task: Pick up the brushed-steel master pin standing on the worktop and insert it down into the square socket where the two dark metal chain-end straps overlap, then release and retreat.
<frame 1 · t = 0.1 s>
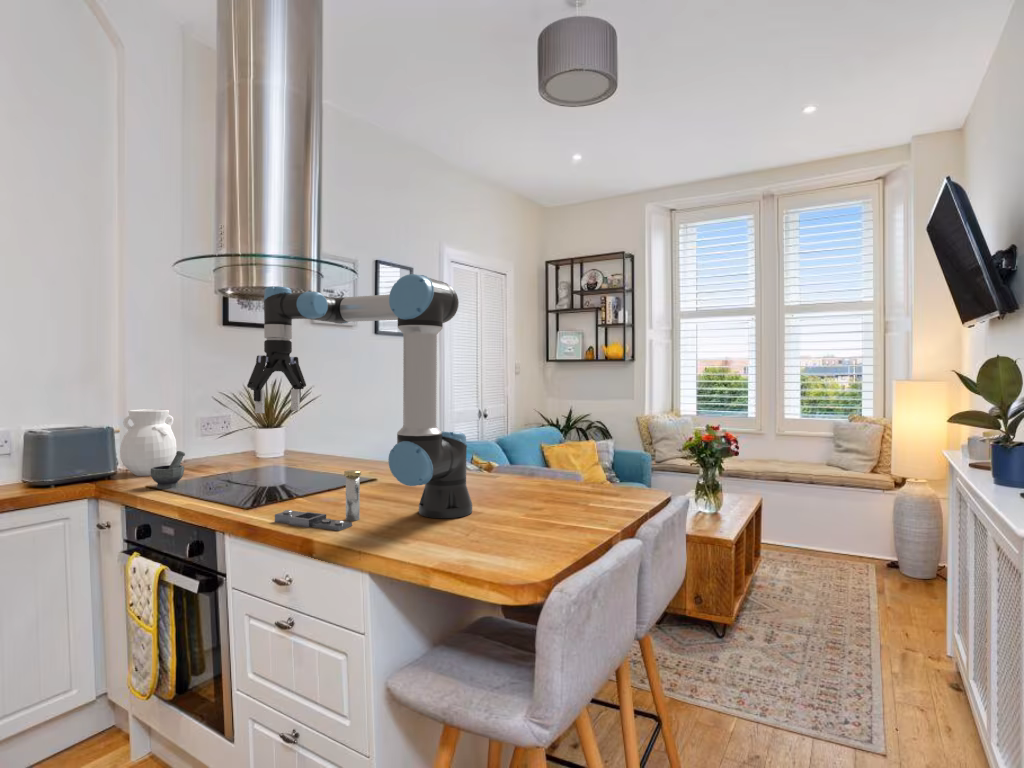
hand: (278, 411, 167), 28 cm above the countertop, fingers open, 13 cm apart
mortar and pestle: (169, 487, 195), on the countertop
master pin: (352, 519, 152), on the countertop
chain ends: (308, 523, 148), on the countertop
white handled vase: (149, 474, 220), on the countertop
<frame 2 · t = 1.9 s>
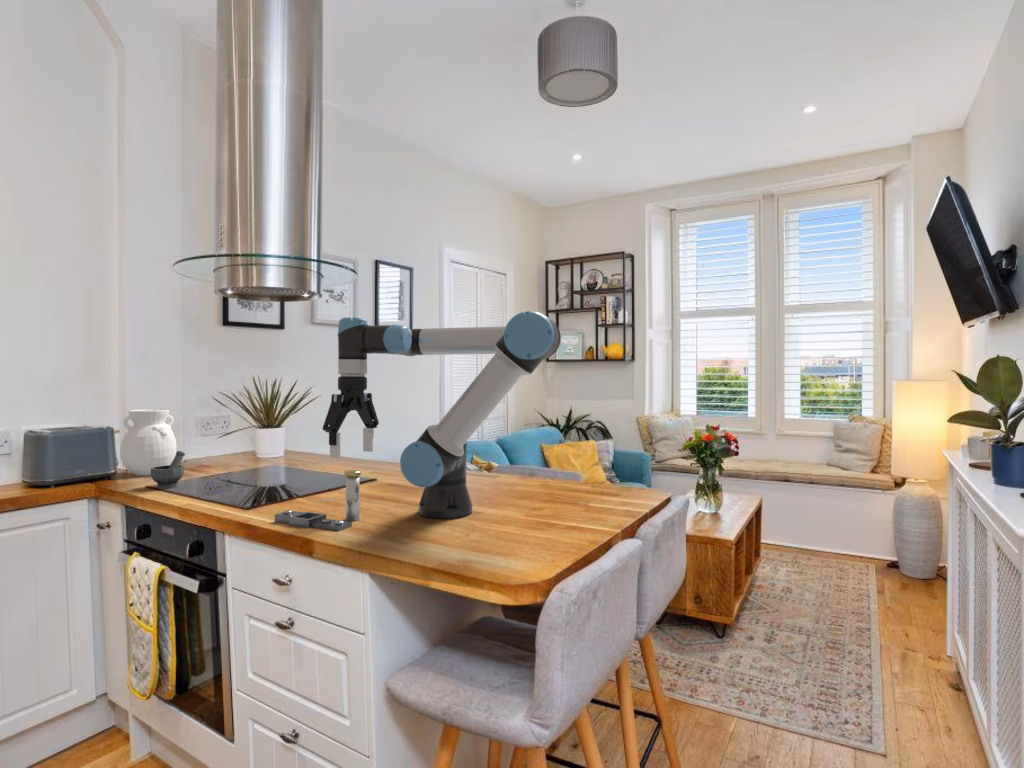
hand: (352, 454, 152), 17 cm above the countertop, fingers open, 13 cm apart
nothing on the countertop moved.
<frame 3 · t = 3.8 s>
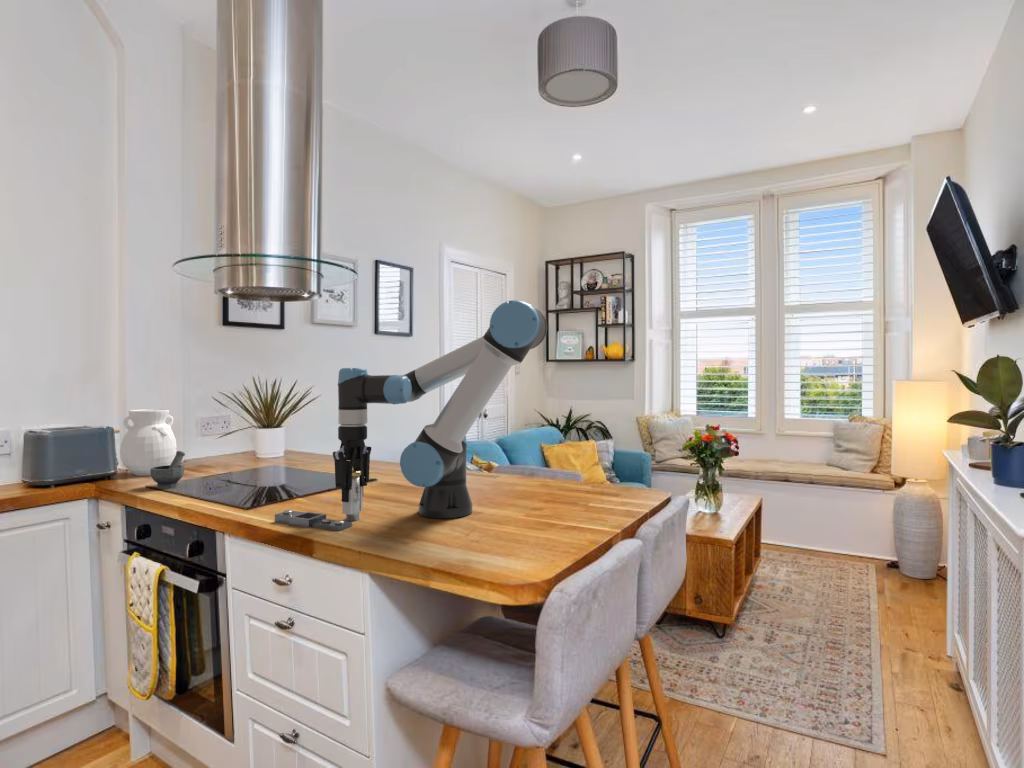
hand: (352, 511, 152), 2 cm above the countertop, fingers closed on master pin, 3 cm apart
master pin: (352, 519, 152), on the countertop, touching gripper
everything else where it was.
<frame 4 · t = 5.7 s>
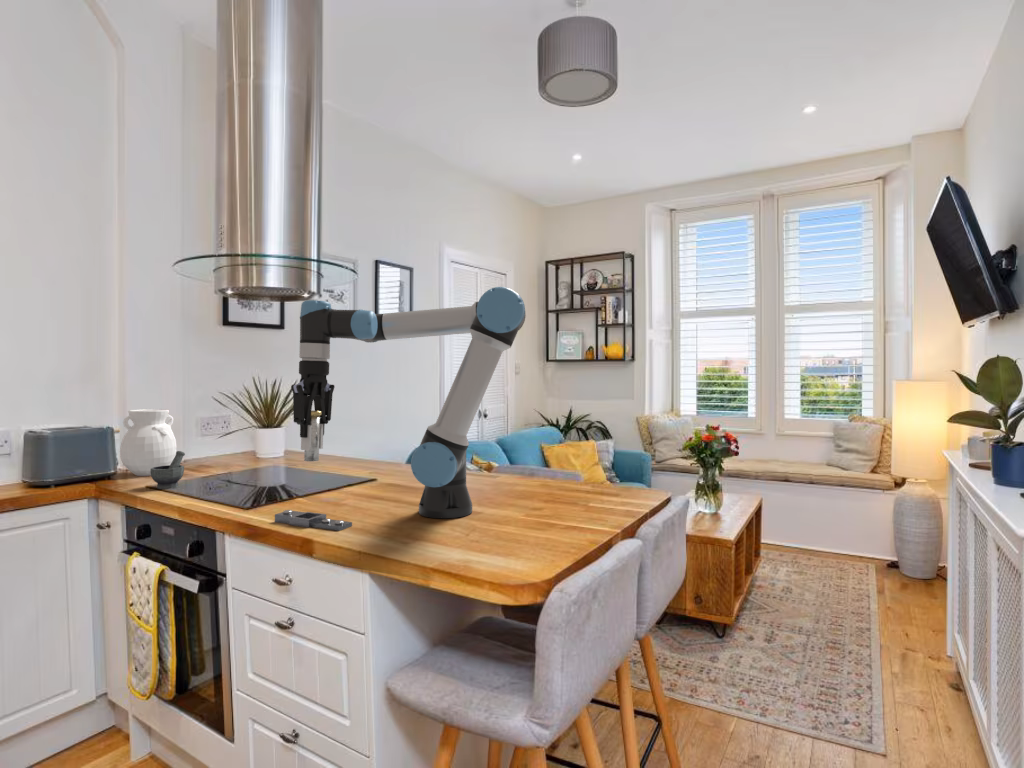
hand: (311, 448, 148), 19 cm above the countertop, fingers closed on master pin, 3 cm apart
master pin: (311, 460, 148), point 16 cm above the countertop, touching gripper
everything else where it was.
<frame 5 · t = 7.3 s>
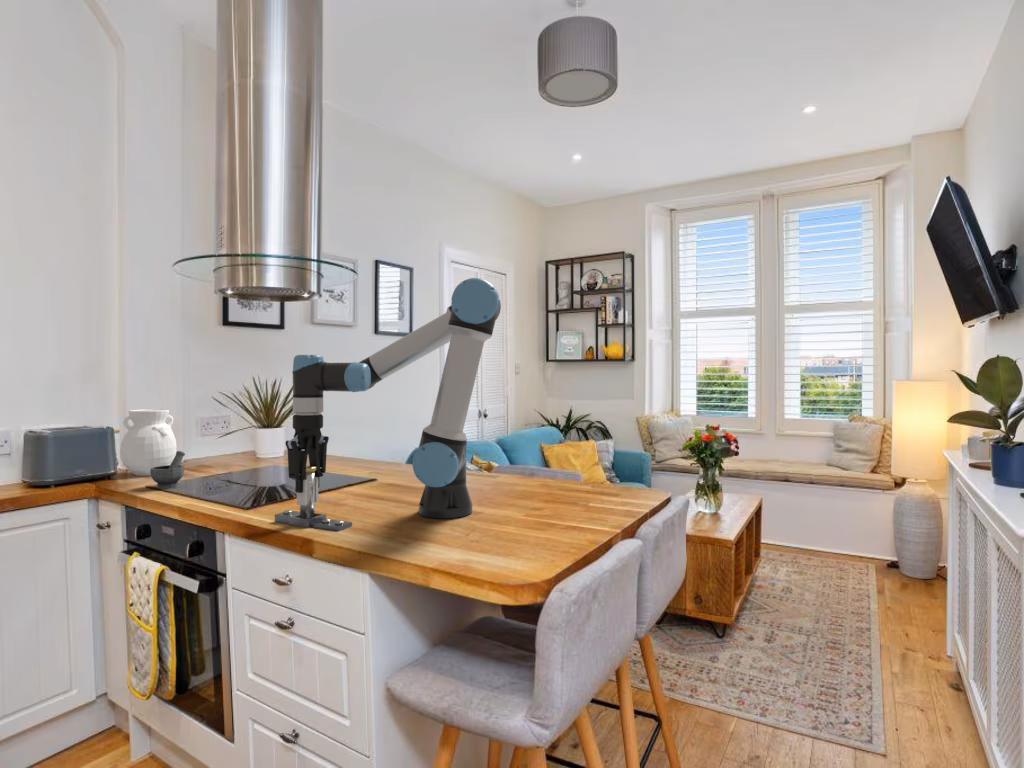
hand: (307, 502, 148), 5 cm above the countertop, fingers closed on master pin, 3 cm apart
master pin: (307, 516, 148), point 2 cm above the countertop, touching gripper
everything else where it was.
when the fingers open (3 cm above the countertop, at t = 7.9 s): master pin stays where it is, resting in chain ends.
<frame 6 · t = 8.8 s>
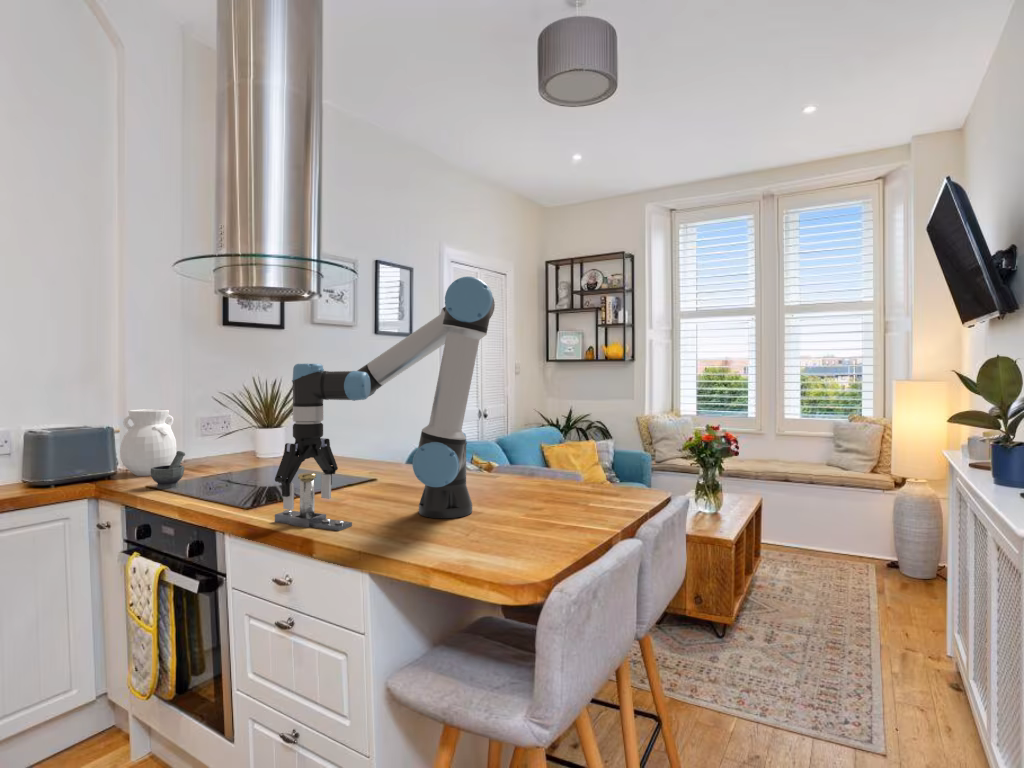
hand: (308, 503, 148), 5 cm above the countertop, fingers open, 13 cm apart
master pin: (307, 523, 148), resting in chain ends
everything else where it was.
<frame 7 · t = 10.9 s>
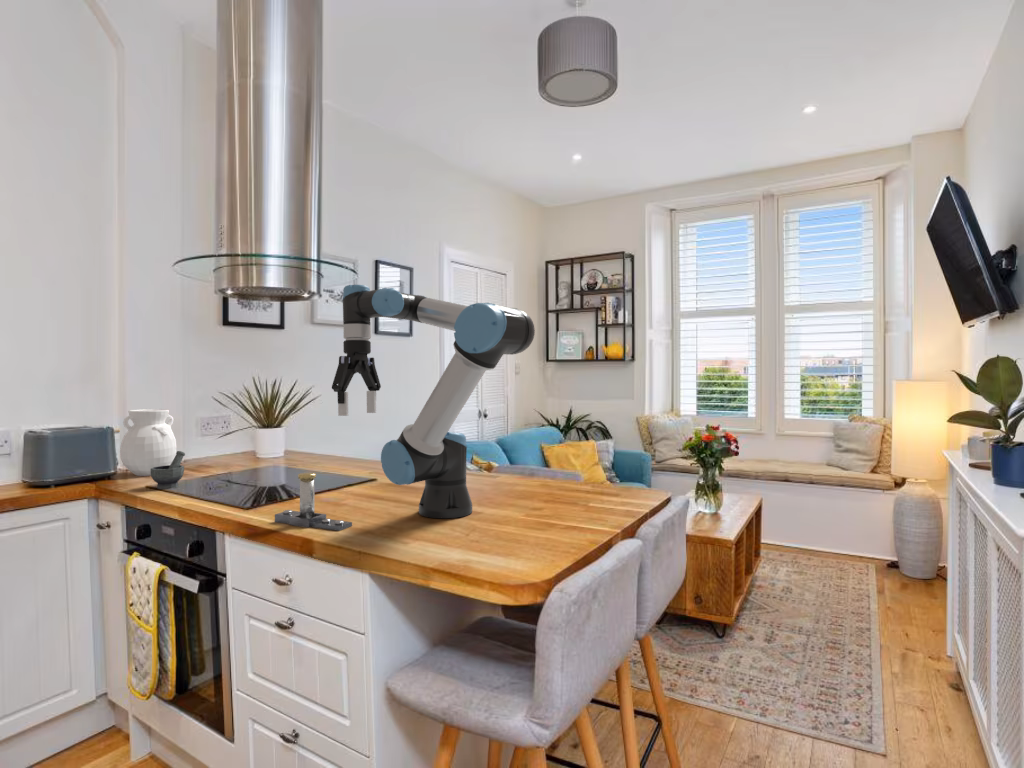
hand: (357, 414, 161), 28 cm above the countertop, fingers open, 13 cm apart
nothing on the countertop moved.
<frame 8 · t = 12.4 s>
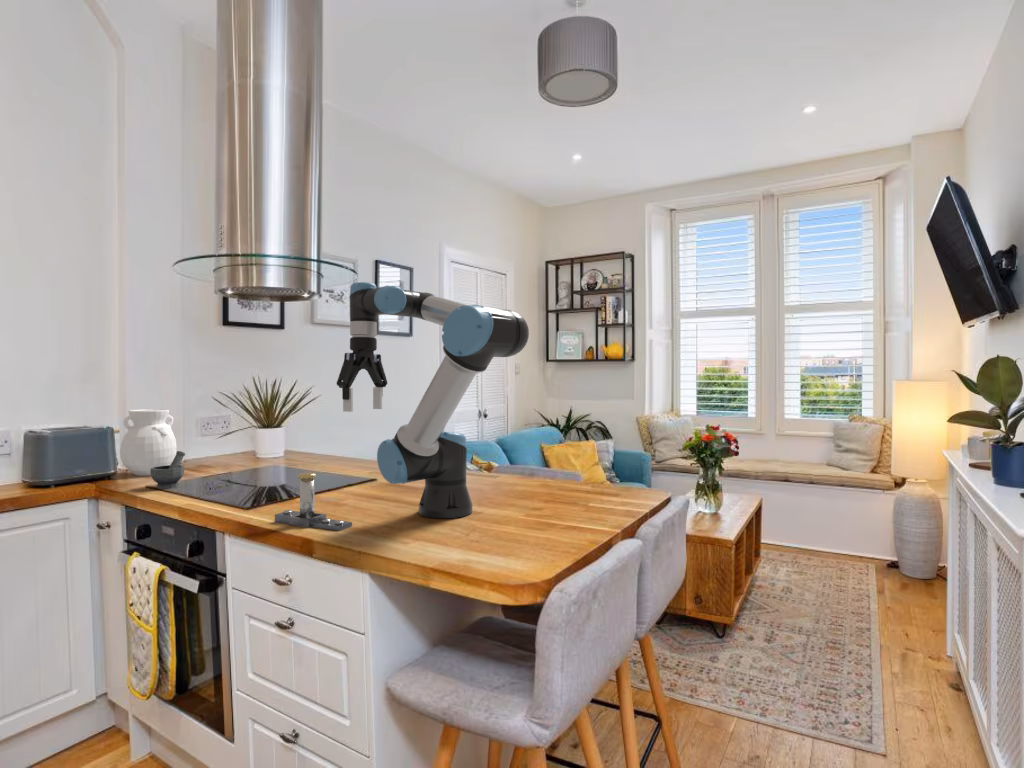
hand: (363, 410, 164), 29 cm above the countertop, fingers open, 13 cm apart
nothing on the countertop moved.
at the end: master pin 0.3 cm off-centre on the chain ends, point 0.0 cm above the chain ends's base; master pin tilted 0°; the gripper is holding nothing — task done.
